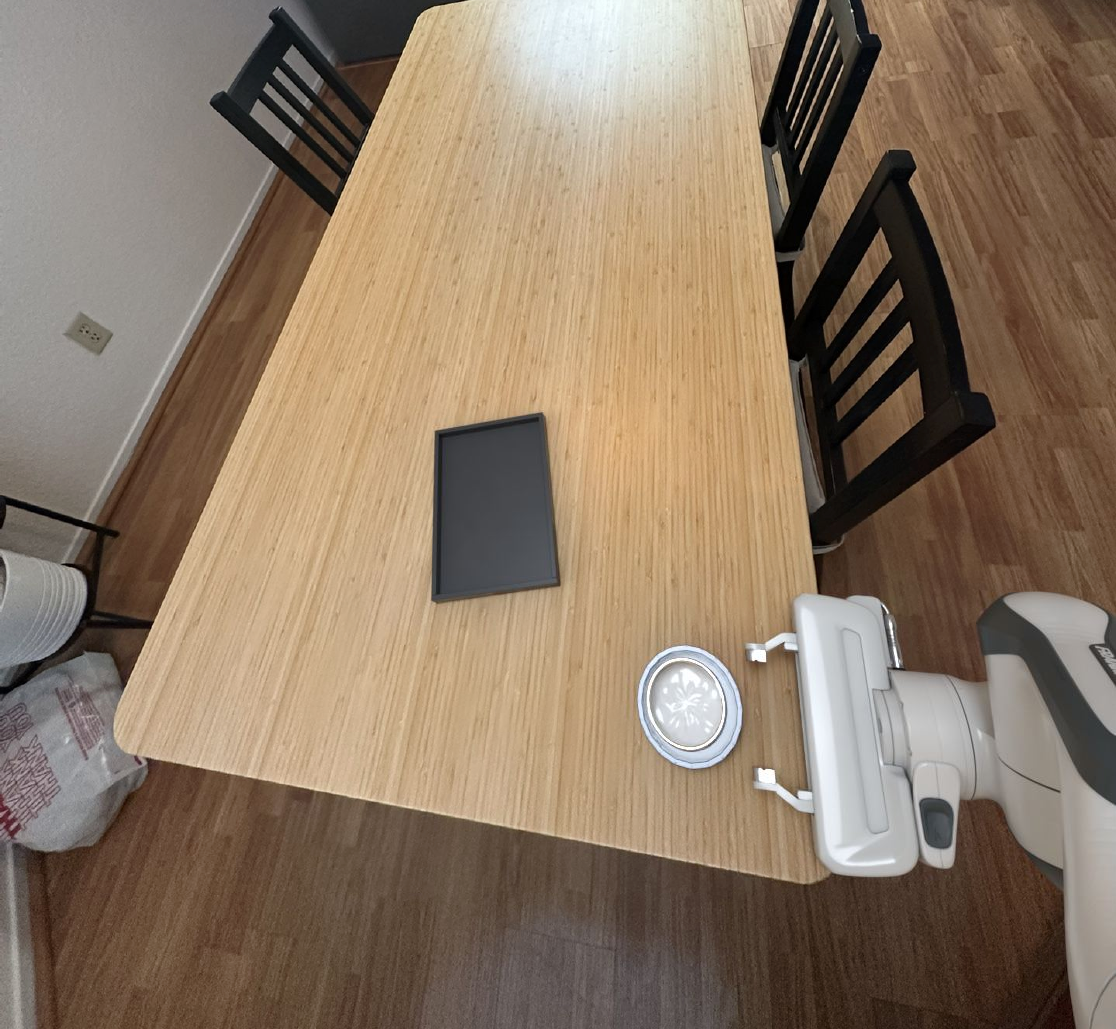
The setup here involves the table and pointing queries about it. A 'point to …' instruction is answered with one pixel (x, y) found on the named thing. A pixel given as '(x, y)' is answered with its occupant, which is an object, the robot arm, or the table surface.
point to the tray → (493, 510)
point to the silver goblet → (686, 704)
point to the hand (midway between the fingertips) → (748, 711)
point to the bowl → (734, 710)
